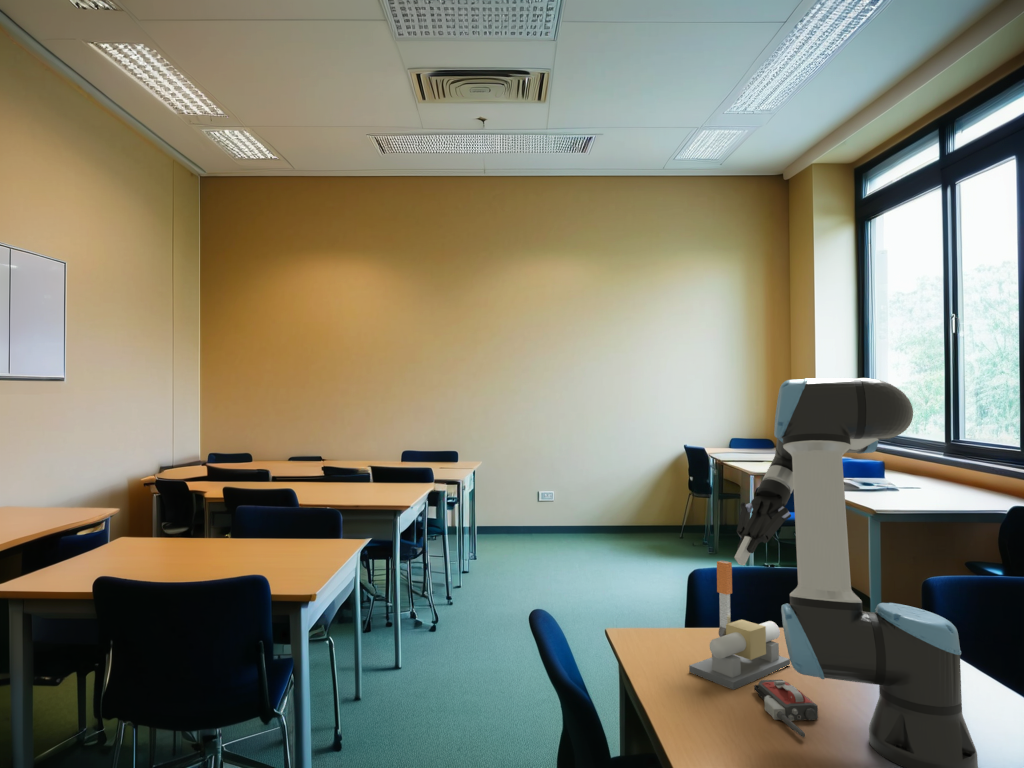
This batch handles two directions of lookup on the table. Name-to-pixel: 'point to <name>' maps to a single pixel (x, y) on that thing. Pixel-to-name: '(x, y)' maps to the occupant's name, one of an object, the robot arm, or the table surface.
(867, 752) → the table surface
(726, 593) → the valve lever
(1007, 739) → the table surface
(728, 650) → the valve rig
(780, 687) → the walkie-talkie
